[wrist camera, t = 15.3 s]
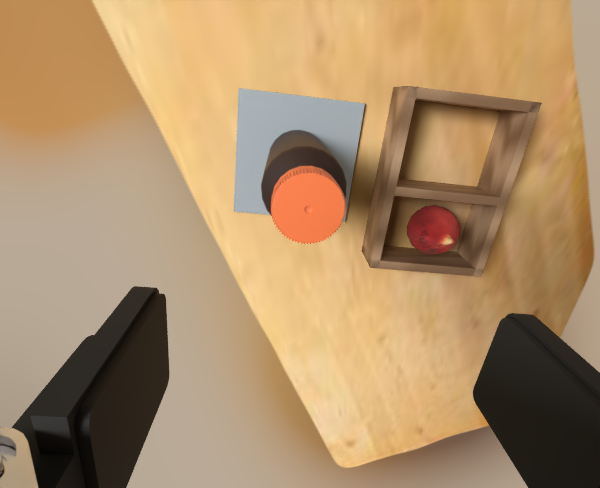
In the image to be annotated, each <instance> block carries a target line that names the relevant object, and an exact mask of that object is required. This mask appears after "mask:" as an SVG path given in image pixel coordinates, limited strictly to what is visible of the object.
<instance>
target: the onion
mask: <svg viewBox="0 0 600 488" xmlns="http://www.w3.org/2000/svg"><path fill="white" fill-rule="evenodd" d="M407 235H408V237H409V240H410V242H411V244H412V246H414V247H415V248H416V249H418V250H419V251H421V252H422V253H425V254H434V255H435V254H439V253H445V252H446V251H448V250H450V249H451V248H452V247H453V246H454V245H455V244H456V243H457V240H458V238H459V236H460V226H459V222H458V220H457V218H456V217H455V215H454V214H453V213H452V212H450V211H449V210H448V209H446V208H444V207H440V206H436V205H433V206H425V207H423V208H421V209H420V210H418V211H416V212H415V213H414V214H413V215H412V216H411V218H410V221H409V223H408V225H407Z"/></svg>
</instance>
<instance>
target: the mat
mask: <svg viewBox="0 0 600 488" xmlns="http://www.w3.org/2000/svg"><path fill="white" fill-rule="evenodd" d="M364 107H365V103H357V102H348V101H340V100H332V99H324V98H315V97H307V96H299V95H291V94H282V93H274V92H266V91H258V90H249V89H241V88H239V94H238V119H237V144H236V169H235V194H234V211H235V212H246V213H256V214H267V215H270V214H269V212H268V211H267V209H266V207H265V204H264V202H263V200H262V193H261V182H262V178H263V174H264V170H265V166H266V163H267V159H268V155H269V151H270V147H271V146H272V144H273V143H274V141H275V139H277V138H278V137H279V136H280V135H282V134H283V133H285V132H288V131H291V130H303V131H306V132H310V133H311V134H313V135H314V136H315V137H317V138H318V139H319V140H320V141H321V143H322V144H323V145H324V146H325V147H326V148H327V149H328V151H329V152H330V153H331V154H332V155H333V156H334V157H335V159H336V160H337V162H338V163H339V164H340V166H341V167H342V169H343V172H344V175H345V178H346V181H347V185H346V197H345V203H346V204H345V205H346V207H345V209H346V210H345V212H346V213H347V207H348V201H349V195H350V189H351V183H352V177H353V172H354V166H355V160H356V154H357V148H358V142H359V136H360V130H361V124H362V118H363V112H364ZM346 213H345V214H344V215H345V216H343V217H344V219H342V221H343V222H345V219H346Z"/></svg>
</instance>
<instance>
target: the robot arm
mask: <svg viewBox="0 0 600 488" xmlns="http://www.w3.org/2000/svg"><path fill="white" fill-rule="evenodd" d="M168 380H169V358H168V335H167V314H166V297H165V295H164V294H159V291H158V289H157V288H150V287H133V288H132V289H131V290H130V291H129V292H128V294H127V295H126V296H125V297H124V299H123V300H122V301H121V302H120V304H119V305H118V306H117V307H116V309H115V310H114V311H113V313H112V314H111V315H110V316H109V318H108V319H107V320H106V321H105V323H104V324H103V325H102V326H101V328H100V329H99V330H98V331H97V333H96V334H95V335H91V336H89V337H87V338H86V339H85V340H84V341H83V342H82V343H81V344H80V345H79V347H78V348H77V349H76V350H75V352H74V353H73V354H72V355H71V356H70V358H69V359H68V360H67V361H66V362H65V364H64V365H63V366H62V367H61V368H60V370H59V371H58V372H57V373H56V374H55V376H54V377H53V378H52V379H51V381H50V382H49V383H48V385H46V387H45V388H44V389H43V390H42V391H41V393H40V394H39V395H38V396H37V398H36V399H35V400H34V401H33V403H32V404H31V405H30V406H29V407H28V408H27V410H26V411H25V412H24V413H23V415H22V416H21V417H20V418H19V420H18V421H17V422H16V423H15V424H14V425H13V427H12V428H6V427H0V488H126V487H127V484H128V482H129V479H130V477H131V474H132V472H133V470H134V467H135V464H136V462H137V460H138V457H139V455H140V452H141V450H142V447H143V444H144V442H145V440H146V437H147V435H148V432H149V430H150V428H151V425H152V422H153V420H154V418H155V415H156V413H157V410H158V408H159V405H160V403H161V400H162V398H163V395H164V393H165V390H166V388H167V385H168ZM473 397H474V401H475V403H476V405H477V406H478V408H479V409H480V411H481V413H482V414H483V416H484V417H485V419H486V421H487V422H488V424H489V425H490V427H491V429H492V430H493V432H494V433H495V435H496V437H497V438H498V440H499V441H500V443H501V445H502V446H503V448H504V449H505V451H506V453H507V454H508V456H509V457H510V459H511V461H512V462H513V464H514V465H515V467H516V469H517V470H518V472H519V473H520V475H521V477H522V478H523V480H524V481H525V483H526V485H527V486H528V488H600V373H599V372H598V371H597V370H596V369H595V368H594V367H592V366H591V365H590V364H589V363H588V362H587V361H586V360H584V359H583V358H582V357H581V356H580V355H579V354H578V353H576V352H575V351H574V350H573V349H572V348H571V347H570V346H568V345H567V344H566V343H565V342H564V341H563V340H562V339H560V338H559V337H558V336H557V335H556V334H555V333H554V332H552V331H551V330H550V329H549V328H548V327H547V326H546V325H544V324H543V323H542V322H541V321H540V320H539V319H538V318H536V317H535V316H533V315H529V314H515V313H511V314H508V315H507V316H506V317H505V318H503V319H502V320H501V321H500V323H499V326H498V328H497V331H496V333H495V336H494V338H493V341H492V343H491V346H490V348H489V351H488V353H487V356H486V359H485V361H484V364H483V366H482V369H481V371H480V374H479V376H478V379H477V381H476V384H475V386H474V390H473Z"/></svg>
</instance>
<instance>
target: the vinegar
mask: <svg viewBox="0 0 600 488" xmlns="http://www.w3.org/2000/svg"><path fill="white" fill-rule="evenodd" d="M346 185H347V181H346V178H345V175H344V172H343V169H342V167H341V166H340V164H339V163H338V162H337V160H336V159H335V157H334V156H333V155H332V154H331V153H330V152H329V151H328V149H327V148H326V147H325V146H324V145H323V144H322V143H321V141H320V140H319V139H318V138H317V137H315V136H314V135H313V134H311V133H310V132H306V131H303V130H291V131H288V132H285V133H283V134H282V135H280V136H279V137H278V138H277V139H275V141H274V143H273V144H272V146H271V147H270V151H269V155H268V159H267V163H266V166H265V170H264V174H263V178H262V182H261V193H262V200H263V202H264V204H265V207H266V209H267V211H268V212H269V214H270V215H271V216H272V219H273V222H274V221H275V223H274V224H276V227H278V230H280V232H282V234H284V236H287V238H289V240H290V239H292V241H295V242H296V241H297V242H298V243H299V242H301V243H304V244H305V243H307V244H308V243H310V244H311V243H315V242H316V243H317V242H318V241H319V242H320V241H321V240H322V241H323V240H324V239H325V240H326V238H327V237H328V238H329V236H331V235H332V234H333V233H334V232H336V230H338V227H340V225H341V222H343V221H342V219H344V217H343V216H345V215H344V214H345V213H346V212H345V210H346V209H345V207H346V205H345V204H346V203H345V197H346Z"/></svg>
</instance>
